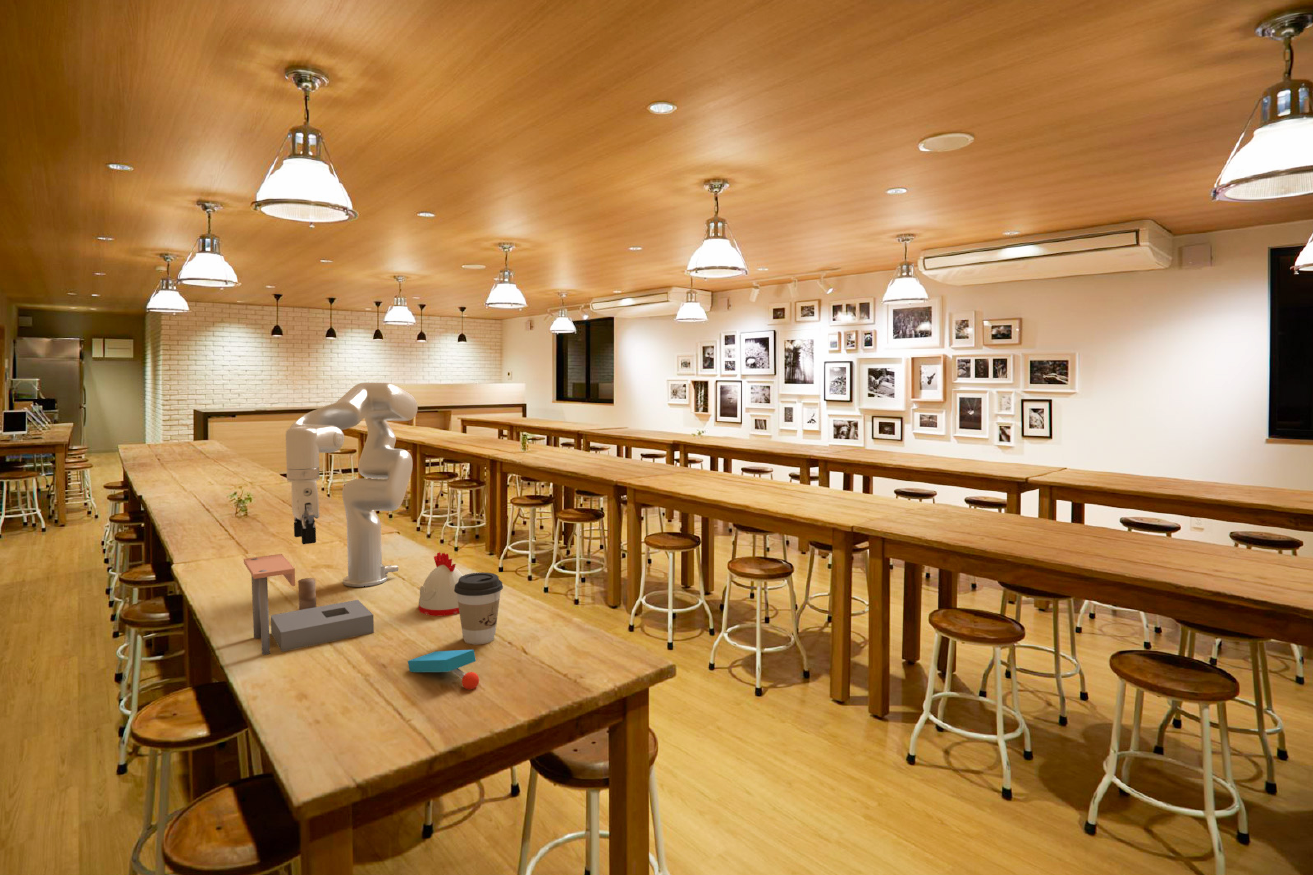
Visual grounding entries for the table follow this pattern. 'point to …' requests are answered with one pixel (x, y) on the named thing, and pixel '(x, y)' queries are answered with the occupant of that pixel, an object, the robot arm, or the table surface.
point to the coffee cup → (478, 606)
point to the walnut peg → (307, 593)
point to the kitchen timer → (440, 588)
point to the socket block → (321, 624)
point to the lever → (447, 665)
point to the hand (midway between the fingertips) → (304, 539)
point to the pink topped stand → (265, 591)
